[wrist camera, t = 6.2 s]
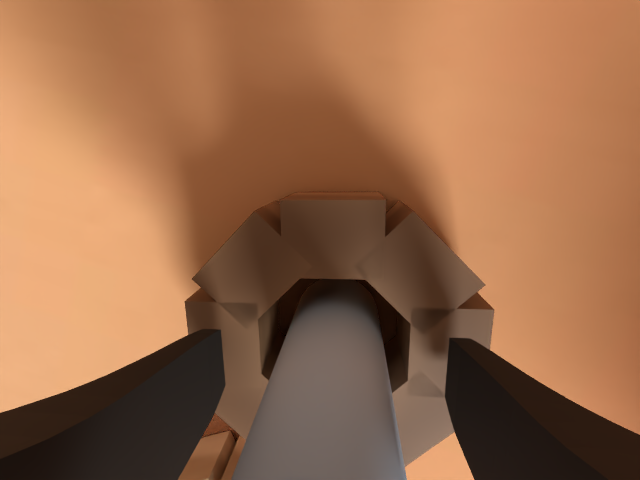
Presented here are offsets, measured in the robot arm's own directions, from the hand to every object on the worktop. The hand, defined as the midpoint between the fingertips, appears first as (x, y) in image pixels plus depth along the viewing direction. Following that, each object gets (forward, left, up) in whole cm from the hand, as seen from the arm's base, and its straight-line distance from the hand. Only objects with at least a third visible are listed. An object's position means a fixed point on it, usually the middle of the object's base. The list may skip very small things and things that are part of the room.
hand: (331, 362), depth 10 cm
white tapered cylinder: (0, 0, -4) cm, 4 cm away
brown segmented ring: (0, 0, -4) cm, 4 cm away
